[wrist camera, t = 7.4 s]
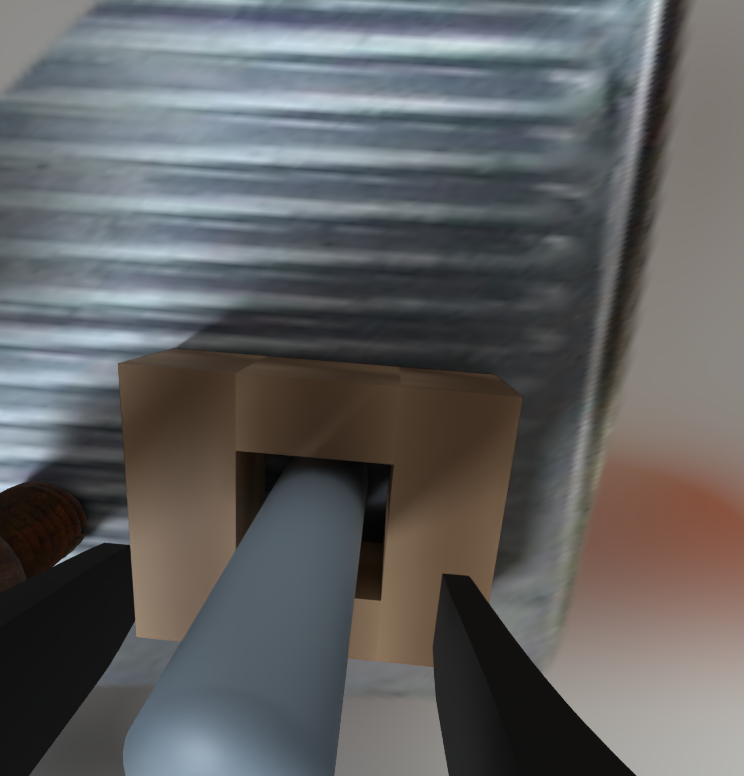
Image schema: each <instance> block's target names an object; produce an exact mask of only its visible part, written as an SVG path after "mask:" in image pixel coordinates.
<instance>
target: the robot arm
mask: <svg viewBox="0 0 744 776" xmlns="http://www.w3.org/2000/svg"><path fill="white" fill-rule="evenodd" d="M134 622H135V607H134V592H133V578H132V563H131V549H130V545H123V544H112V543H103V544H100V545H98V546H96V547H93V548H91V549H89V550H87V551H84V552H82V553H80V554H78V555H76V556H74V557H72V558H70V559H68V560H66V561H64V562H62V563H60V564H58V565H56V566H54V567H52V568H50V569H48V570H46V571H44V572H42V573H40V574H38V575H36V576H34V577H32V578H30V579H28V580H26V581H24V582H22V583H20V584H18V585H16V586H14V587H12V588H10V589H8V590H6V591H4V592H2V593H0V776H29V775H30V773H31V772H32V771H33V769H34V768H35V766H36V765H37V764H38V763H39V761H40V760H41V758H42V757H43V756H44V754H45V753H46V752H47V750H48V749H49V748H50V746H51V745H52V744H53V742H54V741H55V739H56V738H57V737H58V735H59V734H60V733H61V731H62V730H63V729H64V727H65V726H66V724H67V723H68V722H69V721H70V719H71V718H72V716H73V715H74V714H75V712H76V711H77V710H78V708H79V707H80V706H81V704H82V703H83V702H84V700H85V699H86V697H87V696H88V695H89V693H90V692H91V690H92V689H93V688H94V686H95V685H96V684H97V682H98V681H99V679H100V678H101V677H102V675H103V674H104V672H105V671H106V670H107V668H108V667H109V665H110V663H111V662H112V660H113V658H114V657H115V655H116V653H117V652H118V650H119V648H120V647H121V645H122V643H123V641H124V640H125V638H126V636H127V634H128V632H129V631H130V629H131V627H132V625H133V623H134ZM432 649H433V664H434V679H435V692H436V702H437V708H438V714H439V720H440V726H441V731H442V737H443V744H444V750H445V755H446V761H447V767H448V772H449V776H636V775H635V774H634V773H633V772H632V771H631V770H630V769H629V768H628V767H627V766H626V765H625V764H624V763H623V762H622V761H621V760H620V759H619V758H618V757H617V756H616V755H615V754H614V753H613V752H612V751H611V750H610V749H609V748H608V747H607V746H606V745H605V744H604V743H603V742H602V741H601V739H600V738H599V737H598V736H597V735H596V734H595V733H594V732H593V731H592V730H591V729H590V728H589V727H588V726H587V725H586V724H585V723H584V722H583V721H582V720H581V718H580V717H579V716H578V715H577V714H576V713H575V712H574V711H573V710H572V708H571V707H570V706H569V705H568V704H567V703H566V702H565V701H564V699H563V698H562V697H561V696H560V695H559V694H558V692H557V691H556V690H555V689H554V688H553V687H552V685H551V684H550V683H549V682H548V680H547V679H546V678H545V677H544V676H543V674H542V673H541V672H540V671H539V669H538V668H537V667H536V666H535V664H534V663H533V662H532V661H531V659H530V658H529V657H528V656H527V654H526V653H525V652H524V650H523V649H522V648H521V646H520V645H519V644H518V643H517V641H516V640H515V639H514V637H513V636H512V635H511V633H510V632H509V631H508V629H507V628H506V627H505V625H504V624H503V623H502V621H501V620H500V618H499V617H498V616H497V614H496V613H495V611H494V610H493V609H492V607H491V606H490V604H489V603H488V601H487V600H486V598H485V597H484V596H483V594H482V593H481V591H480V590H479V588H478V587H477V585H476V584H475V583H474V581H473V580H472V579H471V577H470V576H467V575H455V574H444V573H442V579H441V587H440V594H439V602H438V610H437V617H436V625H435V632H434V640H433V647H432Z"/></svg>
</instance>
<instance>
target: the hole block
mask: <svg viewBox="0 0 744 776" xmlns="http://www.w3.org/2000/svg"><path fill="white" fill-rule="evenodd" d="M118 373H119V387H120V402H121V416H122V431H123V445H124V460H125V475H126V489H127V504H128V518H129V533H130V548H131V562H132V577H133V591H134V606H135V621H136V635H137V637H141V638H151V639H161V640H171V641H181V642H182V640H183V638H184V637H185V635H186V633H187V631H188V630H189V628H190V626H191V625H192V623H193V621H194V620H195V618H196V616H197V615H198V613H199V611H200V610H201V608H202V606H203V605H204V603H205V601H206V599H207V598H208V596H209V594H210V593H211V591H212V589H213V588H214V586H215V584H216V583H217V581H218V579H219V578H220V576H221V574H222V573H223V571H224V569H225V568H226V566H227V564H228V562H229V561H230V559H231V557H232V556H233V554H234V552H235V551H236V549H237V547H238V546H239V544H240V542H241V541H242V539H243V537H244V536H245V534H246V532H247V530H248V529H249V527H250V525H251V524H252V522H253V520H254V519H255V517H256V515H257V514H258V512H259V510H260V509H261V507H262V505H263V504H264V502H265V479H266V453H267V454H278V455H290V456H301V457H312V458H324V459H335V460H346V461H358V462H369V463H380V464H390V471H389V482H388V492H387V503H386V514H385V525H384V536H383V543H380V542H369V541H361V547H360V556H359V565H358V573H357V582H356V591H355V599H354V608H353V617H352V625H351V634H350V643H349V652H348V658H350V659H360V660H370V661H380V662H390V663H400V664H410V665H420V666H430V667H434V664H433V649H432V647H433V640H434V632H435V625H436V617H437V610H438V602H439V594H440V587H441V579H442V573H444V574H455V575H467V576H470V577H471V579H472V580H473V581H474V583H475V584H476V585H477V587H478V588H479V590H480V591H481V593H482V594H483V596H484V597H485V598H486V600H487V601H488V603H489V600H490V594H491V588H492V582H493V576H494V570H495V564H496V558H497V552H498V546H499V540H500V534H501V527H502V521H503V515H504V509H505V503H506V497H507V491H508V485H509V479H510V473H511V467H512V461H513V455H514V449H515V443H516V437H517V431H518V425H519V419H520V413H521V407H522V401H523V397H522V396H521V395H520V394H519V393H517V392H516V391H515V390H514V389H512V388H511V387H510V386H509V385H507V384H506V383H505V382H504V381H502V380H501V379H500V378H499V377H498V376H496V375H492V374H480V373H468V372H455V371H443V370H431V369H419V368H407V367H395V366H382V365H370V364H358V363H346V362H334V361H322V360H309V359H297V358H285V357H273V356H261V355H248V354H236V353H224V352H212V351H200V350H188V349H175V348H173V349H170V350H166V351H162V352H158V353H155V354H151V355H147V356H143V357H140V358H136V359H132V360H128V361H125V362H121V363H118Z"/></svg>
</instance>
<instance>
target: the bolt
mask: <svg viewBox="0 0 744 776" xmlns="http://www.w3.org/2000/svg"><path fill="white" fill-rule="evenodd" d="M86 525H87V518H86V515H85V512H84V510H83V508H82V506H81V503H80V502H79V501H78V500H77V499H76V498H75V497H74V496H73V495H71V494H70V493H68V492H67V491H65V490H63V489H61V488H59V487H57V486H55V485H52V484H49V483H45V482H39V481H38V482H26V483H22V484H19V485H16V486H14V487H11V488H9V489H7V490H5V491H3V492H1V493H0V593H2V592H4V591H6V590H8V589H10V588H12V587H14V586H16V585H18V584H20V583H22V582H24V581H26V580H28V579H30V578H32V577H34V576H36V575H38V574H40V573H42V572H44V571H46V570H48V569H50V568H52V567H53V566H54V565H55V564H56V563H58V562H59V561H60V560H61V559H62V558H64V557H66V555H68V554H69V553H71V552H72V551H73V550H74V549H75V548H76V546H77V545H79V544H80V543H81V541H82V540H83V539H84V536H85V534H86V532H85V531H81V528H83V527H86Z"/></svg>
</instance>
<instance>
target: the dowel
mask: <svg viewBox="0 0 744 776" xmlns="http://www.w3.org/2000/svg"><path fill="white" fill-rule="evenodd" d="M367 486H368V471H367V467H366V465H365V462H358V461H346V460H335V459H324V458H312V457H301V456H292V457H291V458H290V460H289V461H288V463H287V465H286V467H285V468H284V470H283V472H282V473H281V475H280V477H279V478H278V480H277V482H276V483H275V485H274V487H273V488H272V490H271V492H270V493H269V495H268V497H267V499H266V500H265V502H264V504H263V505H262V507H261V509H260V510H259V512H258V514H257V515H256V517H255V519H254V520H253V522H252V524H251V525H250V527H249V529H248V530H247V532H246V534H245V536H244V537H243V539H242V541H241V542H240V544H239V546H238V547H237V549H236V551H235V552H234V554H233V556H232V557H231V559H230V561H229V562H228V564H227V566H226V568H225V569H224V571H223V573H222V574H221V576H220V578H219V579H218V581H217V583H216V584H215V586H214V588H213V589H212V591H211V593H210V594H209V596H208V598H207V599H206V601H205V603H204V605H203V606H202V608H201V610H200V611H199V613H198V615H197V616H196V618H195V620H194V621H193V623H192V625H191V626H190V628H189V630H188V631H187V633H186V635H185V637H184V638H183V640H182V642H181V643H180V645H179V647H178V648H177V650H176V652H175V653H174V655H173V657H172V658H171V660H170V662H169V663H168V665H167V667H166V668H165V670H164V672H163V674H162V675H161V677H160V679H159V680H158V682H157V684H156V685H155V687H154V689H153V690H152V692H151V694H150V696H149V697H148V699H147V701H146V702H145V704H144V706H143V707H142V709H141V711H140V712H139V714H138V716H137V717H136V719H135V721H134V722H133V724H132V726H131V727H130V730H129V732H128V734H127V736H126V739H125V744H124V748H123V763H124V770H125V774H126V776H334V773H335V765H336V756H337V747H338V738H339V730H340V721H341V712H342V703H343V695H344V686H345V678H346V669H347V660H348V652H349V643H350V634H351V625H352V617H353V608H354V599H355V591H356V582H357V573H358V565H359V556H360V547H361V538H362V530H363V521H364V512H365V504H366V495H367Z"/></svg>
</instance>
